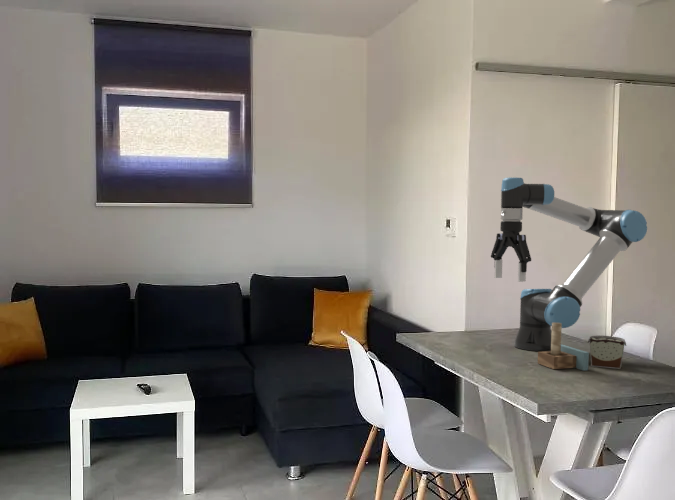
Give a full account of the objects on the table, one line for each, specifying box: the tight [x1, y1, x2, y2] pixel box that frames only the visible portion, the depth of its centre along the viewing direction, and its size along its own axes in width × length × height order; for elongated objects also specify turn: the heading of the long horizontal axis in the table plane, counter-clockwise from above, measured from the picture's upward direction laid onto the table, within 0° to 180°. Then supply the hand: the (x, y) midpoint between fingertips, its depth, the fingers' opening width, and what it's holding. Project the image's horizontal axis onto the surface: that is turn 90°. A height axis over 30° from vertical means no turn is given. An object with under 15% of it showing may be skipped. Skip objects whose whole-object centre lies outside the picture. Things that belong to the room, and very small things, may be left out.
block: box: [537, 350, 577, 370], centre depth 234 cm, size 9×9×4 cm
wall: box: [561, 343, 590, 372], centre depth 236 cm, size 2×16×6 cm, turn 19°
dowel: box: [550, 323, 563, 356], centre depth 234 cm, size 3×3×14 cm
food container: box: [587, 335, 627, 370], centre depth 236 cm, size 12×6×10 cm, turn 71°
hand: (509, 279), depth 247 cm, fingers open, 13 cm apart
